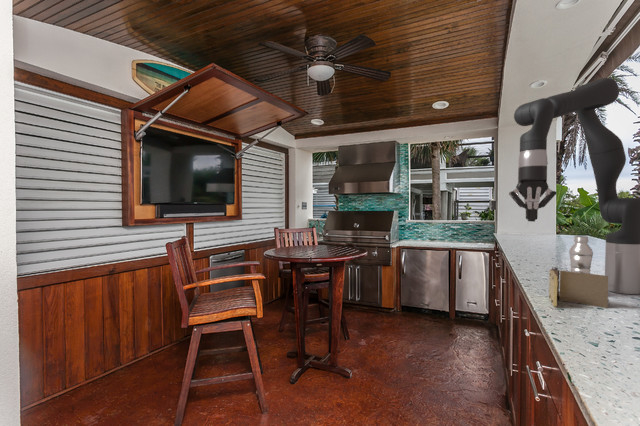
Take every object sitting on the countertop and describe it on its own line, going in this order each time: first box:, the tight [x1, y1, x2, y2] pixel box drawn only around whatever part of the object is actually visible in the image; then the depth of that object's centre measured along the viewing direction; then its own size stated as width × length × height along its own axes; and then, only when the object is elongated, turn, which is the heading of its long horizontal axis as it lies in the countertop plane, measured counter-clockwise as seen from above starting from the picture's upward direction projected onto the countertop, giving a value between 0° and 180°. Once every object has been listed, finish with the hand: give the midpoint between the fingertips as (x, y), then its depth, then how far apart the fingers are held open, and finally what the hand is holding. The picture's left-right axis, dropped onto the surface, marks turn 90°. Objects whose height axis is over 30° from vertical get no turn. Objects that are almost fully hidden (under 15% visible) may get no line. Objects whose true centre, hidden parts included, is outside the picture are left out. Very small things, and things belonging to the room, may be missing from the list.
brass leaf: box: [548, 270, 560, 307], centre depth 102 cm, size 12×3×9 cm, turn 151°
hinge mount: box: [549, 266, 610, 309], centre depth 104 cm, size 8×14×10 cm, turn 46°
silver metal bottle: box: [568, 235, 594, 274], centre depth 111 cm, size 6×7×20 cm
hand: (531, 221), depth 102 cm, fingers closed
